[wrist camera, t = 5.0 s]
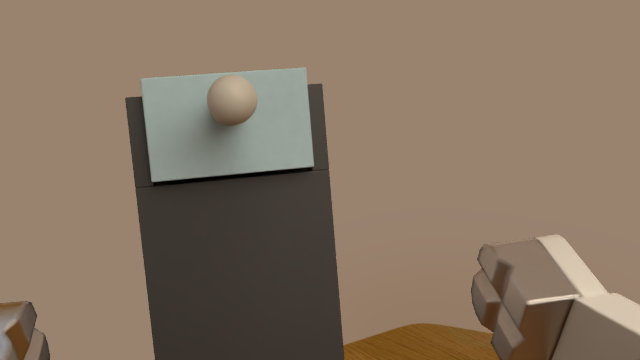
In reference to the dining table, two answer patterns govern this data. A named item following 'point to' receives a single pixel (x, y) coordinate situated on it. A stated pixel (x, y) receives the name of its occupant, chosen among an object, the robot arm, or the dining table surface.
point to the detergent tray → (226, 145)
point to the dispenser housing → (240, 257)
